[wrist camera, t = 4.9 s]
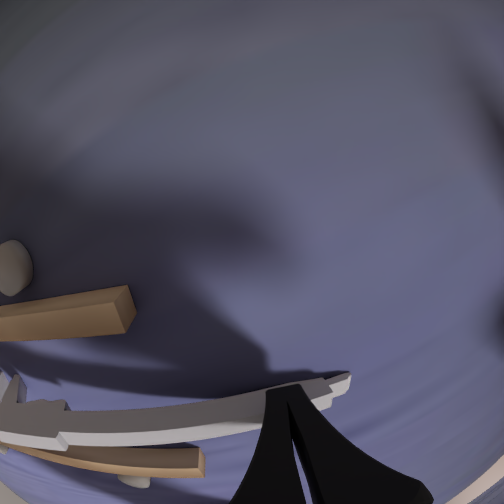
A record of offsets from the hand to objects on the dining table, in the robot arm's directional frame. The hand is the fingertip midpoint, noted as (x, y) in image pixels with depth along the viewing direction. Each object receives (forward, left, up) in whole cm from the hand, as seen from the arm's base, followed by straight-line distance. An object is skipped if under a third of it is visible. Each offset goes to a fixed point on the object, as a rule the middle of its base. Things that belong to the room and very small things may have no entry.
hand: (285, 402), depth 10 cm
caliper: (0, +7, -2) cm, 7 cm away
